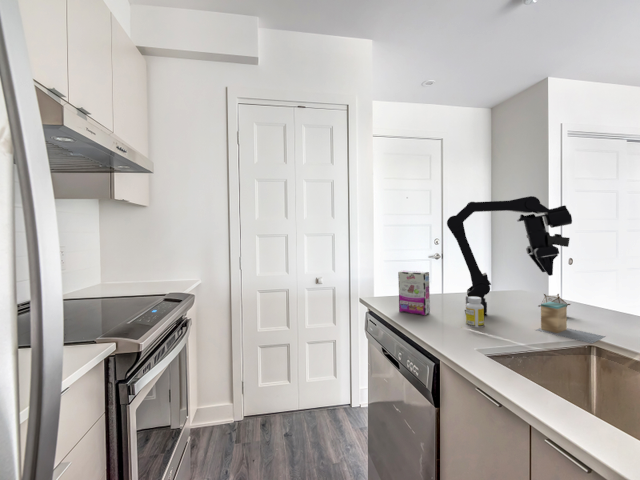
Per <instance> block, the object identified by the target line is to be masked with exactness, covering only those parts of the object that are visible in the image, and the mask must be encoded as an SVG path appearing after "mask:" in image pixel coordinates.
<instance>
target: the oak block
mask: <svg viewBox="0 0 640 480" xmlns="http://www.w3.org/2000/svg"><path fill="white" fill-rule="evenodd" d="M567 304H568V303H567ZM567 304H561V303H555V302H547V303H544V304H541V303H540V305H541V306H540V328H541V329H542V330H546V331H550V332H555V333H560V332H562V331H565V330H567V328H568V327H567V326H568V325H567V321H568V320H567V318H568V317H567V316H568V315H567V311H568V310H567V309H568V306H567Z"/></svg>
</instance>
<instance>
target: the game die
mask: <svg viewBox="0 0 640 480" xmlns="http://www.w3.org/2000/svg"><path fill="white" fill-rule="evenodd" d="M543 296H544V298H543V300H542V302H541V303H540V304H539V305H538V308H541V304H544V303H547V302H555V303H561V304H567V307H568V306H571V304H572V303H567V302H566V301H565V300H564V299H562V298H561V296H560V293H557V295H546V293H543Z"/></svg>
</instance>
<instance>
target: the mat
mask: <svg viewBox="0 0 640 480" xmlns="http://www.w3.org/2000/svg"><path fill="white" fill-rule="evenodd" d="M535 331H537V332H542V333H547V334H551V335H554V336H555V335H556V336H557V337H558V336H559V337H563V338H567V339H571V340H576V341H580V342H584V343H589V344H594V343H596V342H598V341H600V340H601V339H603V338H605V337H606V335H602V334H596V333H592V332H587V331H582V330H577V329H573V328H569V327H567V330H565V331H562V332H560V333H555V332H550V331H546V330H542V329H541V327H539V328H536V329H535Z"/></svg>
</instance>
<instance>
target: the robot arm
mask: <svg viewBox="0 0 640 480" xmlns="http://www.w3.org/2000/svg"><path fill="white" fill-rule="evenodd" d="M507 211H508V212H515V213H522V214H520V215H519V217H518V219H516V221H517V222H523V224H524V227H525V230H526V231H525V232H526V238H527V239H528V243H529V245H528V246H527V247H526V248H525V250H526V253H527V255H528V256H529V257H530V259H531V260H532V261H533V262H534V264H535V265H536V266H537V267H538V269H539V270H540V271H541V272H542V273H546V274H547V275H548V276H553V271H554V260H555V259H556V258H557V257H558V256H559V255H560V250H559V248H558V246H560V247H566V248H568V247H569V245H570V237H565V236H562V234H560V233H558V234H557V233H554V234H553V235H550V232H548V231H547V229H546V226H549V227H550V228H558V227H563V226H568V225H571V224H572V223H573V217H572V214H571V213H570V211H569V210H568V208H567V205H565V204H564V205H561V206H560V205H559V206H558V207H554V208H548V207H546V206H545V205H543V204H542V203H541V201H540V199H539V198H538V197H536V196H529V195H528V196H525V197H520V198H516V199H510V200H493V201H469V202H468V203H467V204H466V206H465V207H463V208H462V209H461V210H460V211H459V212H458V213H457V214H456V215H451V216H450V217H449V218H448V219H447V221H446V226H447V228H448V229H449V231H450V232H451V235H453V237H454V238H455V240H456V242H457V244H458V247H459V249H460V252H461V254H462V256H463V259H464V261H465V264H466V266H467V269H468V271H469V274H470V275H469V276H470V279H471V284H472V285H471V286H469V288H467V289H466V295H467V296H465V305H466V304H467V303H469V302H468V297H480V298H481V304H482V305H483V306H484V316H488V314H487V313H488V302H487V301H486V298H485V296H486V295H488V294H489V293H490V291H491V286H492V284H491V281H490V280H489V277H488V274H487V272H484V273H482V271H481V270H480V268H479V265H478V262H477V261H476V257H475V256H474V253H473V251H472V248H471V245H470V244H469V241H468V239H467V235H466V231H465V225H464V222H465V221H466V220H467V219H468V218H469V217H470V216H471V215H472V214H473V213H478V212H479V213H480V212H481V213H483V212H507ZM530 213H532V214H530ZM524 214H525V215H524ZM526 214H527V215H526ZM536 214H538V215H537V216H536ZM539 214H542V215H539ZM545 225H546V226H545ZM464 312H465V313H466V309H464Z"/></svg>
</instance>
